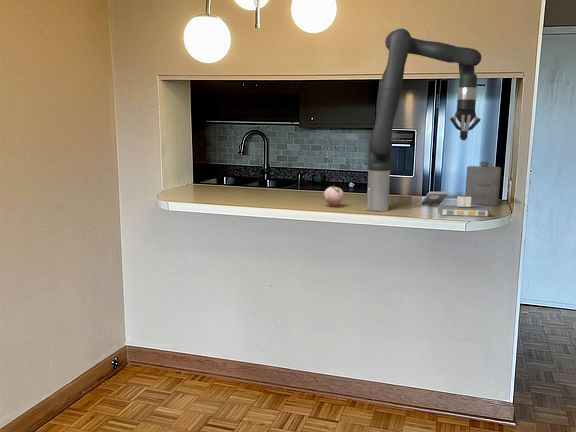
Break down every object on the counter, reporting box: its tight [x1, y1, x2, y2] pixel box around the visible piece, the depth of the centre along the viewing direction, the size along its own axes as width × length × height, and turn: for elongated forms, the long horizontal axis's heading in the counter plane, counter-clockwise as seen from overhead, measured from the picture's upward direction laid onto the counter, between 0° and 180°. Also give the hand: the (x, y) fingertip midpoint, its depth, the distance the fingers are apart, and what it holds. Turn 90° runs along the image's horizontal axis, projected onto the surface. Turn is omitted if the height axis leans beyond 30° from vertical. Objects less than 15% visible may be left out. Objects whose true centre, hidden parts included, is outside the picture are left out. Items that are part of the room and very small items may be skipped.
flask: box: [464, 160, 502, 207], centre depth 263 cm, size 15×6×20 cm, turn 77°
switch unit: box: [437, 204, 490, 218], centre depth 237 cm, size 19×10×3 cm, turn 84°
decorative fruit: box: [323, 185, 345, 208], centre depth 252 cm, size 9×8×10 cm
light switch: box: [420, 191, 449, 206], centre depth 255 cm, size 8×6×14 cm
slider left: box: [456, 195, 465, 207], centre depth 237 cm, size 2×4×4 cm
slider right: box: [463, 195, 472, 207], centre depth 237 cm, size 2×4×4 cm
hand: (463, 140), depth 243 cm, fingers closed
